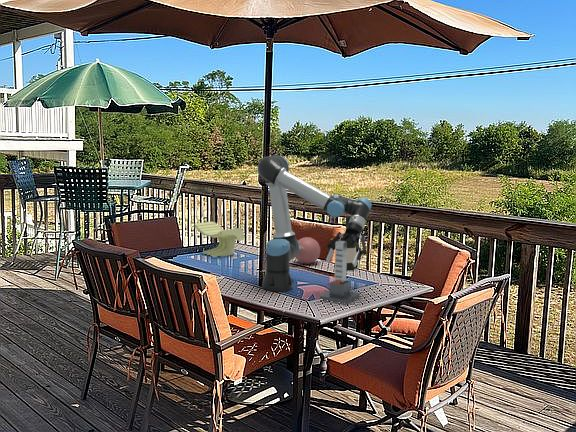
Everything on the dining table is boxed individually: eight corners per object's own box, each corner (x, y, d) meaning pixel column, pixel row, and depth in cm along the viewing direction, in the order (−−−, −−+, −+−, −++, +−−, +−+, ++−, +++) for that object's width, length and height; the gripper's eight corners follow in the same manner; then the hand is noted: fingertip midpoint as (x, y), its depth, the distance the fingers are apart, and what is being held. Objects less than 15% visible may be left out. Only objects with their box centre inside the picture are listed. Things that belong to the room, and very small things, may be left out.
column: (338, 282, 274) (339, 240, 271) (346, 283, 272) (347, 241, 269) (334, 284, 271) (335, 242, 267) (342, 285, 269) (343, 243, 265)
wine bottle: (354, 270, 324) (356, 217, 320) (339, 269, 326) (341, 216, 321) (356, 267, 333) (357, 215, 328) (341, 266, 334) (342, 214, 329)
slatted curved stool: (243, 256, 356) (243, 227, 353) (221, 260, 346) (221, 230, 343) (216, 248, 379) (216, 221, 376) (195, 251, 369) (194, 223, 366)
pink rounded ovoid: (282, 264, 338) (282, 238, 335) (307, 259, 351) (307, 233, 348) (300, 269, 326) (300, 242, 324) (325, 263, 340) (326, 237, 337)
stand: (333, 292, 282) (333, 274, 281) (359, 297, 275) (360, 278, 274) (319, 299, 270) (319, 281, 269) (347, 305, 263) (347, 285, 262)
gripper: (329, 219, 284) (314, 255, 274) (377, 224, 271) (363, 262, 261) (334, 228, 290) (319, 264, 279) (381, 233, 277) (367, 271, 266)
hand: (340, 263), depth 270 cm, fingers open, 13 cm apart
